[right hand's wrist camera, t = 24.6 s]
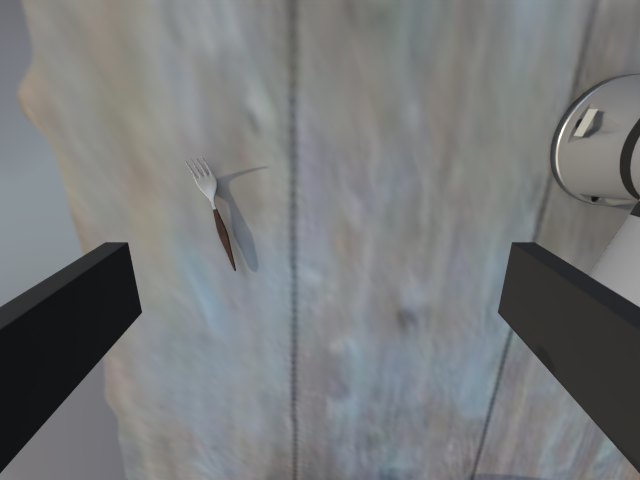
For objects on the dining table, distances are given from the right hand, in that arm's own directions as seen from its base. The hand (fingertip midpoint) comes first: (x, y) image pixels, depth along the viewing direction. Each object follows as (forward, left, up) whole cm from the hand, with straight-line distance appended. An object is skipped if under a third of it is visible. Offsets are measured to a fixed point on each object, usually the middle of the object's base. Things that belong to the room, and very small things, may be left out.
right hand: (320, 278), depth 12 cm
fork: (+16, +1, -34) cm, 37 cm away
